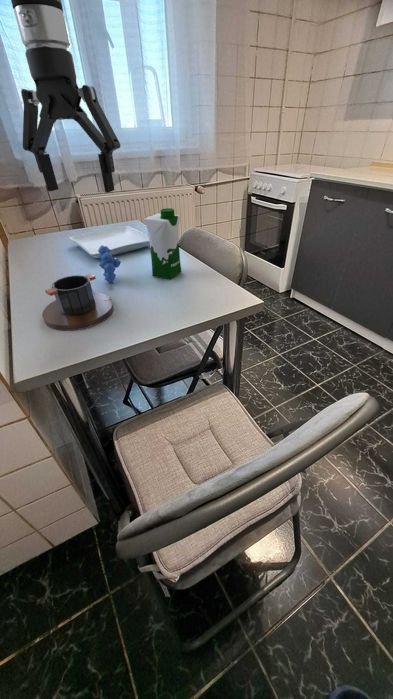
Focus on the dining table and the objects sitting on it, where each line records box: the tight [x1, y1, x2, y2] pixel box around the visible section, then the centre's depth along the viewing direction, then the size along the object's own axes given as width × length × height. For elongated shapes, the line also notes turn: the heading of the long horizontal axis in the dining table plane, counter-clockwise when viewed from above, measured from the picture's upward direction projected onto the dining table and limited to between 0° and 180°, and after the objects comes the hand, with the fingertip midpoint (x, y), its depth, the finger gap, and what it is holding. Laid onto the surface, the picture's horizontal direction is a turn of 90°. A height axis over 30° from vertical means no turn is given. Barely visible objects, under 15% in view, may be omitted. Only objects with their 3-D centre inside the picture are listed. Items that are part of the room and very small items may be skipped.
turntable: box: [41, 291, 115, 331], centre depth 79 cm, size 18×18×2 cm
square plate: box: [68, 225, 150, 259], centre depth 122 cm, size 27×27×4 cm
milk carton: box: [143, 207, 182, 281], centre depth 92 cm, size 9×9×20 cm
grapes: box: [98, 245, 122, 283], centre depth 91 cm, size 12×7×12 cm, turn 23°
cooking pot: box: [45, 273, 97, 315], centre depth 76 cm, size 9×13×7 cm
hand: (81, 191), depth 62 cm, fingers open, 13 cm apart
